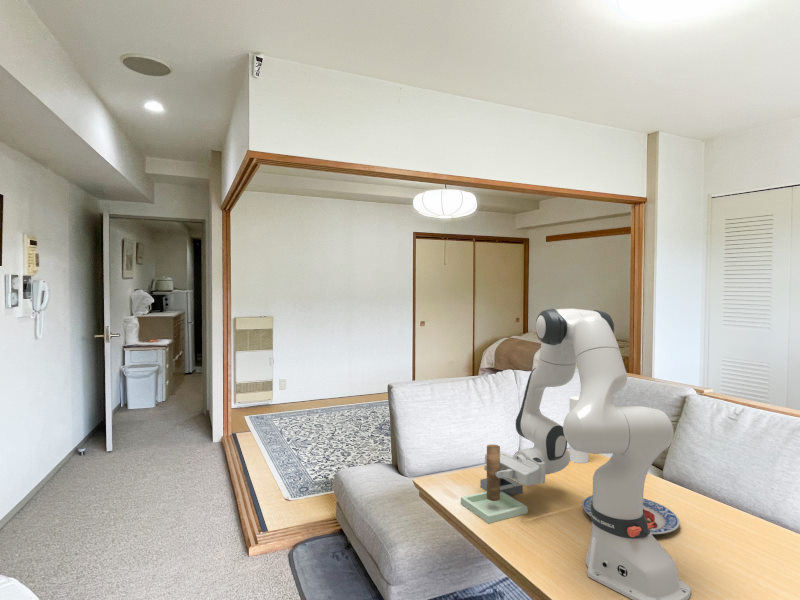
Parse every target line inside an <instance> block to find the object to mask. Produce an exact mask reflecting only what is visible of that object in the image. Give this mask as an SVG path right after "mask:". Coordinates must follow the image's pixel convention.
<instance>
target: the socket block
mask: <svg viewBox="0 0 800 600" xmlns="http://www.w3.org/2000/svg"><path fill="white" fill-rule="evenodd" d="M479 481H480V488H481V489H482V490H485V492H486V491H487V477H486V478H481V479H480V480H479ZM501 491H502V492H504V493H505V494H507V495H509V496H510V497H512V496H514V495H519V494H523V493H524V485H522V484H521V483H519V482H517V481H515V480H513V479H512V478H505V477H501V478H500V492H501Z"/></svg>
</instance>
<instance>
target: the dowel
mask: <svg viewBox="0 0 800 600" xmlns="http://www.w3.org/2000/svg"><path fill="white" fill-rule="evenodd" d="M500 452H501V447H500V445H497V444H487V446H486V454H487V471H486V478H487V499H488V500H491V501H498V500H500V478H498V477H496V476H495V471H496V470H500Z"/></svg>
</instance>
